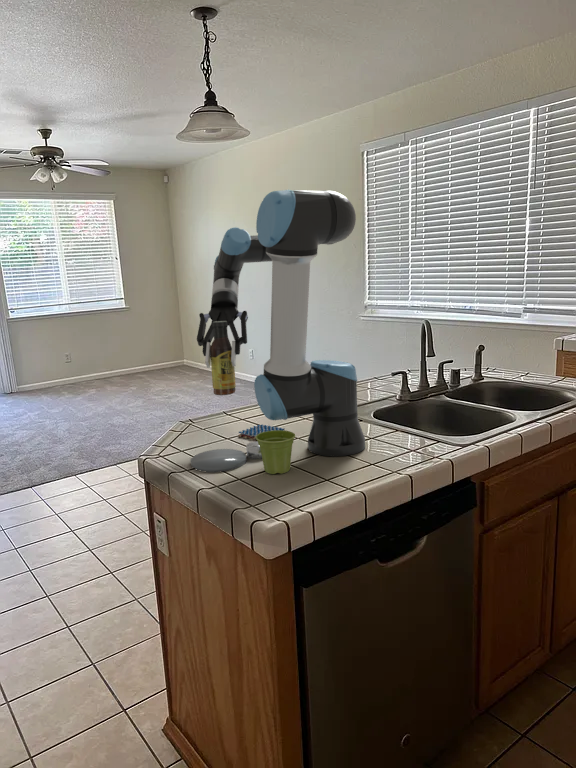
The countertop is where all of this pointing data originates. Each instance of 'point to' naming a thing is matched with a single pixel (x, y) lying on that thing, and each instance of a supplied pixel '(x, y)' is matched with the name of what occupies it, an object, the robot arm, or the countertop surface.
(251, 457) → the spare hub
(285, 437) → the plant pot
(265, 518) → the countertop surface
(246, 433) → the woven mat
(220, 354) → the sauce bottle
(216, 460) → the disc
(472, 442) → the countertop surface
